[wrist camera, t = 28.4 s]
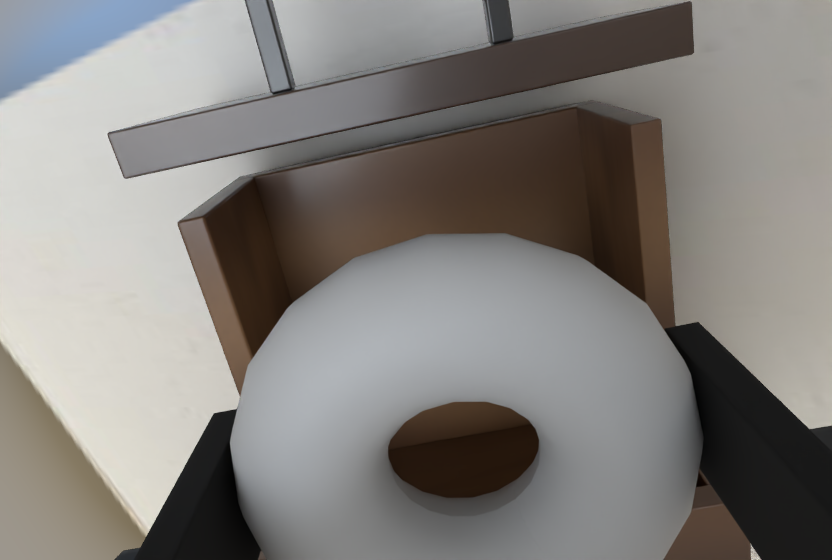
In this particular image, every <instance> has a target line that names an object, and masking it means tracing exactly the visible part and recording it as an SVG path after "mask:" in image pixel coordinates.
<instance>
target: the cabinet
mask: <svg viewBox="0 0 832 560" xmlns="http://www.w3.org/2000/svg"><path fill="white" fill-rule="evenodd" d="M258 560H267V559H266V558H265V556H264V554H263V552H262V550H261V551H260V555H259V558H258ZM663 560H751V548H750V542H749V540H748V539H747V537H746V536H745V535H744V533H743V532H742V530H741V529H740V527H739V526H738V524H737V523H736V521H735V520H734V518H733V517H732V515H731V514H730V512H729V511H728V509H727V508H726V507H725V505H724V504H723V502H722V501H721V499H720V498H719V496H718V495H717V493H716V492H715V490H714V489H713V487H712V486H711V484H710V483H709V481H708V480H707V479H706V477H705V476H704V474H703V473H702V471H701V470H700V468H699V472H698V478H697V483H696V488H695V494H694V499H693V505H692V510H691V513H690V515H689V517H688V518H687V520H686V522H685V523H684V525H683V527H682V529H681V530H680V532H679V534H678V535H677V537H676V539H675V541H674V542H673V544H672V546H671V547H670V549H669V551H668V552H667V554H666V556H665V558H664V559H663Z"/></svg>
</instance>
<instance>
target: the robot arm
mask: <svg viewBox="0 0 832 560" xmlns="http://www.w3.org/2000/svg"><path fill="white" fill-rule="evenodd" d="M665 332H666V334H667V335H668V337H669V338H670V340H671V341H672V343H673V344H674V346H675V347H676V349H677V350H678V352H679V353H680V355H681V356H682V358H683V359H684V361H685V363H686V365H687V367H688V369H689V371H690V373H691V377H692V382H693V387H694V392H695V396H696V401H697V406H698V411H699V416H700V421H701V426H702V431H703V436H704V439H703V449H702V456H701V461H700V467H699V468H700V470H701V471H702V473H703V474H704V476H705V477H706V479H707V480H708V481H709V483H710V484H711V486H712V487H713V489H714V490H715V492H716V493H717V495H718V496H719V498H720V499H721V501H722V502H723V504H724V505H725V507H726V508H727V509H728V511H729V512H730V514H731V515H732V517H733V518H734V520H735V521H736V523H737V524H738V526H739V527H740V529H741V530H742V532H743V533H744V535H745V536H746V537H747V539H748V540H749V542H750V543H751V545H752V546H753V548H754V549H755V551H756V552H757V554H758V555H759V557H760V558H761V560H832V426H827V427H821V428H815V429H809V428H808V427H807V426H806V425H805V424H803V423H802V422H801V421H800V420H799V419H798V418H797V417H796V416H795V415H794V414H793V413H792V412H791V411H790V410H789V409H788V408H787V407H786V406H785V405H784V404H783V403H782V402H781V401H780V400H779V399H778V398H776V397H775V396H774V395H773V394H772V393H771V392H770V391H769V390H768V389H767V388H766V387H765V386H764V385H763V384H762V383H761V382H760V381H759V380H758V379H757V378H756V377H755V376H754V375H753V374H752V373H751V372H750V371H748V370H747V369H746V368H745V367H744V366H743V365H742V364H741V363H740V362H739V361H738V360H737V359H736V358H735V357H734V356H733V355H732V354H731V353H730V352H729V351H728V350H727V349H726V348H725V347H724V346H723V345H721V344H720V343H719V342H718V341H717V340H716V339H715V338H714V337H713V336H712V335H711V334H710V333H709V332H708V331H707V330H706V329H705V328H704V327H703V326H702V325H701V324H700V323H699V322H696V323H691V324H686V325H680V326H675V327H670V328H665ZM236 412H237V409H235V410H230V411H225V412H219V413H214V414H213V416H212V418H211V420H210V422H209V423H208V425H207V427H206V429H205V431H204V433H203V434H202V436H201V438H200V440H199V442H198V443H197V445H196V447H195V449H194V451H193V453H192V454H191V456H190V458H189V460H188V462H187V463H186V465H185V467H184V469H183V471H182V473H181V474H180V476H179V478H178V480H177V482H176V484H175V485H174V487H173V489H172V491H171V493H170V494H169V496H168V498H167V500H166V502H165V504H164V505H163V507H162V509H161V511H160V513H159V515H158V516H157V518H156V520H155V522H154V524H153V525H152V527H151V529H150V531H149V533H148V535H147V536H146V538H145V540H144V542H143V544H142V546H141V547H140V548H136V549H130V550H124V551H123V552H121V553H120V555H119V556H118V557H117V558H116V559H115V560H258V558H259V555H260V551H261V549H260V547H259V545H258V543H257V541H256V539H255V538H254V536H253V534H252V532H251V530H250V528H249V527H248V525H247V523H246V521H245V519H244V517H243V515H242V512H241V509H240V506H239V504H238V497H237V490H236V483H235V476H234V469H233V462H232V455H231V448H230V439H231V434H232V429H233V424H234V420H235V416H236Z"/></svg>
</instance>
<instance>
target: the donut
mask: <svg viewBox="0 0 832 560" xmlns="http://www.w3.org/2000/svg"><path fill="white" fill-rule="evenodd" d="M451 402H490V403H493V404H497V405H501V406H504V407H508V408H511V409H512V410H514V411H515V412H517V413H518V414H520V415H522V416H523V417H525V418H526V419H528V420H529V421H530V423H531V424H532V425H533V426H534V428H535V429H536V432H537V435H538V438H539V447H538V452H537V455H536V457H535V459H534V461H533V463H532V464H531V465H530V466H529V467H528V469H527V470H526V471H525V472H524V473H523V474H522V475H521V476H520V477H519V478H518V479H516V480H515V481H513V482H511V483H510V484H508V485H506V486H504V487H503V488H501V489H499V490H498V491H495V492H491V493H487V494H484V495H480V496H476V497H473V498H445V497H441V496H438V495H434V494H430V493H426V492H422V491H420V490H419V489H417V488H415V487H414V486H412V485H410V484H408V483H407V482H405V481H403V480H402V479H401V478H400V477H399V476H398V475H397V474H396V473H395V472H394V470H393V468H392V465H391V463H390V461H389V458H388V446H389V443H390V440H391V439H392V437H393V436H394V435H395V434H396V433H397V431H398V430H399V429H400V428H401V426H402V425H403V424H404V423H405V422H406V421H408V420H409V419H411V418H412V417H414V416H415V415H417V414H419V413H420V412H422V411H424V410H427V409H431V408H434V407H438V406H441V405H445V404H448V403H451ZM703 439H704V436H703V431H702V426H701V421H700V416H699V411H698V406H697V401H696V396H695V392H694V387H693V382H692V377H691V373H690V371H689V369H688V367H687V365H686V363H685V361H684V359H683V358H682V356H681V355H680V353H679V352H678V350H677V349H676V347H675V346H674V344H673V343H672V341H671V340H670V338H669V337H668V335H667V334H666V332H665V331H664V329H663V328H662V326H661V325H660V323H659V322H658V320H657V319H656V317H655V316H654V314H653V312H652V311H651V309H650V308H649V306H648V305H647V304H646V303H645V302H644V301H642V300H641V299H640V298H638V297H637V296H635V295H634V294H633V293H631V292H630V291H628V290H627V289H626V288H624V287H623V286H622V285H620V284H619V283H617V282H616V281H615V280H613V279H612V278H610V277H609V276H608V275H606V274H605V273H604V272H602V271H601V270H599V269H598V268H597V267H595V266H594V265H592V264H591V263H590V262H588V261H587V260H585V259H583V258H582V257H580V256H578V255H575V254H571V253H568V252H565V251H562V250H558V249H555V248H552V247H549V246H545V245H542V244H539V243H535V242H532V241H529V240H526V239H522V238H519V237H516V236H513V235H509V234H506V233H484V234H426V235H423V236H420V237H417V238H414V239H411V240H408V241H405V242H401V243H398V244H395V245H392V246H389V247H386V248H383V249H380V250H377V251H374V252H371V253H368V254H365V255H361V256H358V257H355V258H353V259H352V260H351V261H349V262H348V263H346V264H345V265H344V266H342V267H341V268H339V269H338V270H337V271H335V272H334V273H333V274H331V275H330V276H328V277H327V278H326V279H324V280H323V281H322V282H320V283H319V284H317V285H316V286H315V287H313V288H312V289H311V290H309V291H308V292H306V293H305V294H304V295H302V296H301V297H300V298H298V299H297V300H295V301H294V302H293V303H292V304H291V305H290V306H289V307H288V308H287V309H286V311H285V312H284V314H283V315H282V317H281V318H280V319H279V321H278V322H277V324H276V325H275V327H274V328H273V330H272V331H271V333H270V334H269V335H268V337H267V338H266V340H265V341H264V343H263V344H262V346H261V347H260V348H259V350H258V351H257V353H256V354H255V356H254V357H253V359H252V360H251V361H250V363H249V364H248V367H247V371H246V375H245V379H244V383H243V387H242V392H241V396H240V400H239V404H238V408H237V412H236V416H235V420H234V424H233V429H232V434H231V439H230V448H231V455H232V462H233V469H234V476H235V483H236V490H237V497H238V504H239V506H240V509H241V512H242V515H243V517H244V519H245V521H246V523H247V525H248V527H249V528H250V530H251V532H252V534H253V536H254V538H255V539H256V541H257V543H258V545H259V547H260V549H261V550H262V552H263V554H264V556H265V558H266V559H267V560H663V559H664V558H665V556H666V554H667V552H668V551H669V549H670V547H671V546H672V544H673V542H674V541H675V539H676V537H677V535H678V534H679V532H680V530H681V529H682V527H683V525H684V523H685V522H686V520H687V518H688V517H689V515H690V513H691V510H692V505H693V499H694V494H695V488H696V483H697V478H698V472H699V467H700V461H701V456H702V449H703Z"/></svg>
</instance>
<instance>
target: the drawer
mask: <svg viewBox="0 0 832 560" xmlns="http://www.w3.org/2000/svg"><path fill="white" fill-rule="evenodd" d="M482 1H483V7H484V13H485V20H486V26H487V32H488V38H489V43H485V44H480V45H476V46H472V47H467V48H463V49H458V50H454V51H450V52H445V53H441V54H436V55H432V56H427V57H423V58H419V59H414V60H410V61H405V62H401V63H397V64H392V65H388V66H383V67H379V68H374V69H370V70H366V71H361V72H357V73H352V74H348V75H344V76H339V77H335V78H330V79H326V80H321V81H317V82H313V83H308V84H304V85H299V86H295V83H294V79H293V75H292V72H291V68H290V64H289V60H288V57H287V53H286V49H285V46H284V42H283V38H282V34H281V31H280V27H279V23H278V20H277V16H276V12H275V8H274V5H273V1H272V0H245V3H246V7H247V10H248V14H249V17H250V21H251V24H252V28H253V31H254V35H255V38H256V42H257V45H258V49H259V52H260V56H261V59H262V63H263V66H264V70H265V73H266V77H267V80H268V84H269V87H270V91H271V92H268V93H264V94H260V95H255V96H251V97H246V98H242V99H238V100H233V101H229V102H224V103H220V104H215V105H211V106H207V107H202V108H198V109H194V110H190V111H187V112H183V113H179V114H176V115H172V116H168V117H164V118H161V119H157V120H153V121H150V122H146V123H142V124H138V125H135V126H131V127H127V128H124V129H120V130H116V131H112V132H109V133H108V137H109V140H110V143H111V145H112V148H113V150H114V153H115V156H116V158H117V161H118V163H119V166H120V169H121V171H122V174H123V177H124V178H126V179H128V178H132V177H137V176H141V175H146V174H150V173H155V172H160V171H164V170H169V169H173V168H178V167H182V166H187V165H191V164H196V163H201V162H205V161H210V160H214V159H219V158H223V157H228V156H232V155H237V154H241V153H246V152H251V151H255V150H260V149H264V148H269V147H273V146H278V145H282V144H287V143H292V142H296V141H301V140H305V139H310V138H314V137H319V136H323V135H328V134H332V133H337V132H342V131H346V130H351V129H355V128H360V127H364V126H369V125H373V124H378V123H383V122H387V121H392V120H396V119H401V118H405V117H410V116H414V115H419V114H423V113H428V112H433V111H437V110H442V109H446V108H451V107H455V106H460V105H464V104H469V103H474V102H478V101H483V100H487V99H492V98H496V97H501V96H505V95H510V94H514V93H519V92H524V91H528V90H533V89H537V88H542V87H546V86H551V85H555V84H560V83H565V82H569V81H574V80H578V79H583V78H587V77H592V76H596V75H601V74H605V73H610V72H615V71H619V70H624V69H628V68H633V67H637V66H642V65H646V64H651V63H656V62H660V61H665V60H669V59H674V58H678V57H683V56H687V55H692V54H693V53H694V41H693V20H692V3H691V2H690V1H688V2H683V3H677V4H672V5H666V6H660V7H655V8H649V9H643V10H638V11H632V12H627V13H621V14H615V15H610V16H604V17H600V18H595V19H591V20H586V21H582V22H578V23H573V24H569V25H564V26H560V27H556V28H551V29H547V30H542V31H538V32H533V33H529V34H525V35H520V36H516V37H514V35H513V28H512V21H511V14H510V7H509V1H508V0H482ZM178 227H179V230H180V232H181V235H182V238H183V241H184V243H185V246H186V249H187V252H188V254H189V257H190V260H191V263H192V265H193V268H194V271H195V274H196V276H197V279H198V282H199V285H200V287H201V290H202V293H203V296H204V298H205V301H206V304H207V307H208V309H209V312H210V315H211V318H212V320H213V323H214V326H215V329H216V332H217V334H218V337H219V340H220V343H221V345H222V348H223V351H224V354H225V356H226V359H227V362H228V365H229V367H230V370H231V373H232V376H233V378H234V381H235V384H236V387H237V389H238V392H239V395H240V396H241V392H242V387H243V383H244V379H245V375H246V371H247V367H248V364H249V363H250V361H251V360H252V359H253V357H254V356H255V354H256V353H257V351H258V350H259V348H260V347H261V346H262V344H263V343H264V341H265V340H266V338H267V337H268V335H269V334H270V333H271V331H272V330H273V328H274V327H275V325H276V324H277V322H278V321H279V319H280V318H281V317H282V315H283V314H284V312H285V311H286V309H287V308H288V307H289V306H290V305H291V304H292V303H293V302H294V301H295V300H297V299H298V298H300V297H301V296H302V295H304V294H305V293H306V292H308V291H309V290H311V289H312V288H313V287H315V286H316V285H317V284H319V283H320V282H322V281H323V280H324V279H326V278H327V277H328V276H330V275H331V274H333V273H334V272H335V271H337V270H338V269H339V268H341V267H342V266H344V265H345V264H346V263H348V262H349V261H351V260H352V259H353V258H355V257H358V256H361V255H365V254H368V253H371V252H374V251H377V250H380V249H383V248H386V247H389V246H392V245H395V244H398V243H401V242H405V241H408V240H411V239H414V238H417V237H420V236H423V235H426V234H484V233H506V234H509V235H513V236H516V237H519V238H522V239H526V240H529V241H532V242H535V243H539V244H542V245H545V246H549V247H552V248H555V249H558V250H562V251H565V252H568V253H571V254H575V255H578V256H580V257H582V258H583V259H585V260H587V261H588V262H590V263H591V264H592V265H594V266H595V267H597V268H598V269H599V270H601V271H602V272H604V273H605V274H606V275H608V276H609V277H610V278H612V279H613V280H615V281H616V282H617V283H619V284H620V285H622V286H623V287H624V288H626V289H627V290H628V291H630V292H631V293H633V294H634V295H635V296H637V297H638V298H640V299H641V300H642V301H644V302H645V303H646V304H647V305H648V306H649V308H650V309H651V311H652V312H653V314H654V316H655V317H656V319H657V320H658V322H659V323H660V325H661V326H662V328H663V329H664V331H665V328H670V327H675V315H674V301H673V286H672V271H671V257H670V242H669V228H668V213H667V198H666V184H665V169H664V155H663V140H662V125H661V119H659V118H655V117H651V116H648V115H644V114H641V113H637V112H633V111H630V110H626V109H623V108H619V107H615V106H612V105H608V104H605V103H601V102H596V101H587V102H582V103H577V104H573V105H568V106H564V107H559V108H554V109H550V110H545V111H541V112H536V113H531V114H527V115H522V116H517V117H513V118H508V119H504V120H499V121H494V122H490V123H485V124H481V125H476V126H471V127H467V128H462V129H458V130H453V131H448V132H444V133H439V134H435V135H430V136H425V137H421V138H416V139H412V140H407V141H402V142H398V143H393V144H388V145H384V146H379V147H375V148H370V149H365V150H361V151H356V152H352V153H347V154H342V155H338V156H333V157H329V158H324V159H319V160H315V161H310V162H306V163H301V164H296V165H292V166H287V167H283V168H278V169H273V170H269V171H264V172H259V173H255V174H250V175H246V176H241V177H239V178H238V179H236V180H235V181H233V182H232V183H231V184H229V185H228V186H227V187H225V188H224V189H222V190H221V191H220V192H218V193H217V194H216V195H214V196H213V197H212V198H210V199H209V200H207V201H206V202H205V203H203V204H202V205H201V206H199V207H198V208H196V209H195V210H194V211H192V212H191V213H190V214H188V215H187V216H185V217H184V218H183V219H181V220H180V221H179V222H178ZM538 447H539V438H538V435H537V432H536V429H535V428H534V426H533V425H532V424H531V423H530V421H529V420H528V419H526V418H525V417H523V416H522V415H520V414H518V413H517V412H515V411H514V410H512V409H511V408H508V407H504V406H501V405H497V404H493V403H490V402H451V403H448V404H445V405H441V406H438V407H434V408H431V409H427V410H424V411H422V412H420V413H419V414H417V415H415V416H414V417H412V418H411V419H409V420H408V421H406V422H405V423H404V424H403V425H402V426H401V428H400V429H399V430H398V431H397V433H396V434H395V435H394V436H393V437H392V439H391V440H390V443H389V446H388V458H389V461H390V463H391V465H392V468H393V470H394V472H395V473H396V474H397V475H398V476H399V477H400V478H401V479H402V480H403V481H405V482H407V483H408V484H410V485H412V486H414V487H415V488H417V489H419V490H420V491H422V492H426V493H430V494H434V495H438V496H441V497H445V498H473V497H476V496H480V495H484V494H487V493H491V492H495V491H498V490H499V489H501V488H503V487H504V486H506V485H508V484H510V483H511V482H513V481H515V480H516V479H518V478H519V477H520V476H521V475H522V474H523V473H524V472H525V471H526V470H527V469H528V467H529V466H530V465H531V464H532V463H533V461H534V459H535V457H536V455H537V452H538Z"/></svg>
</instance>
